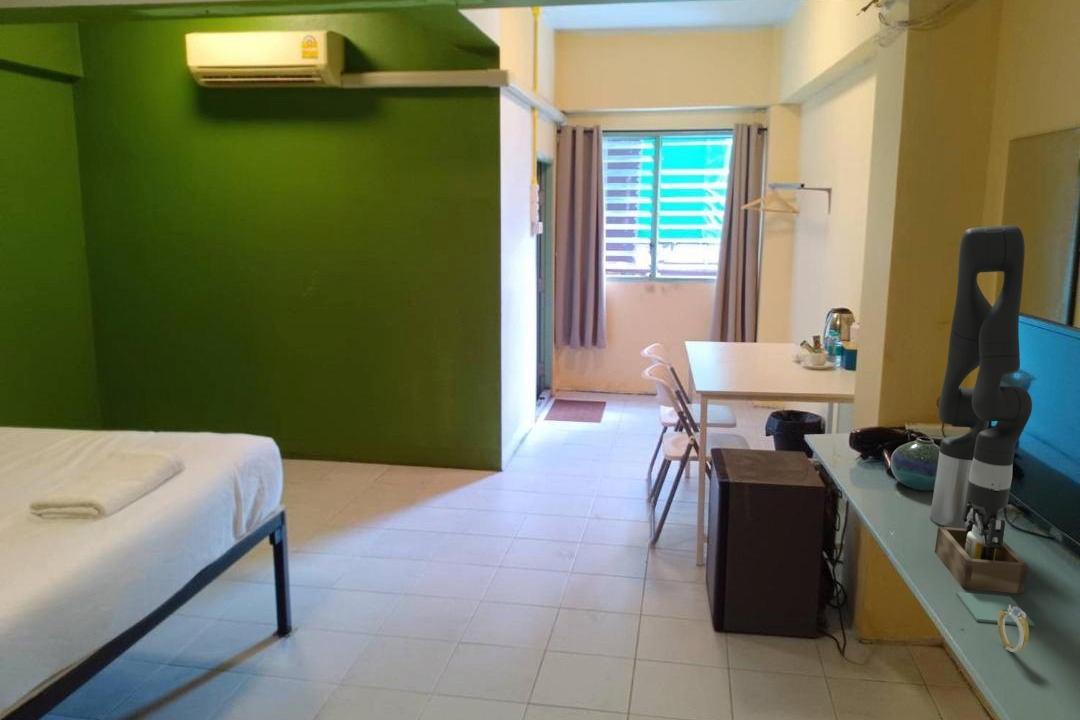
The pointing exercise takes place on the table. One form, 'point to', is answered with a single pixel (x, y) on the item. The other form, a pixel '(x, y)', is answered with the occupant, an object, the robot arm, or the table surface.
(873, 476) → the table surface
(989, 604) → the mat
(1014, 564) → the box
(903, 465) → the vase
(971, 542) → the supplement bottle
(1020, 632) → the ring
